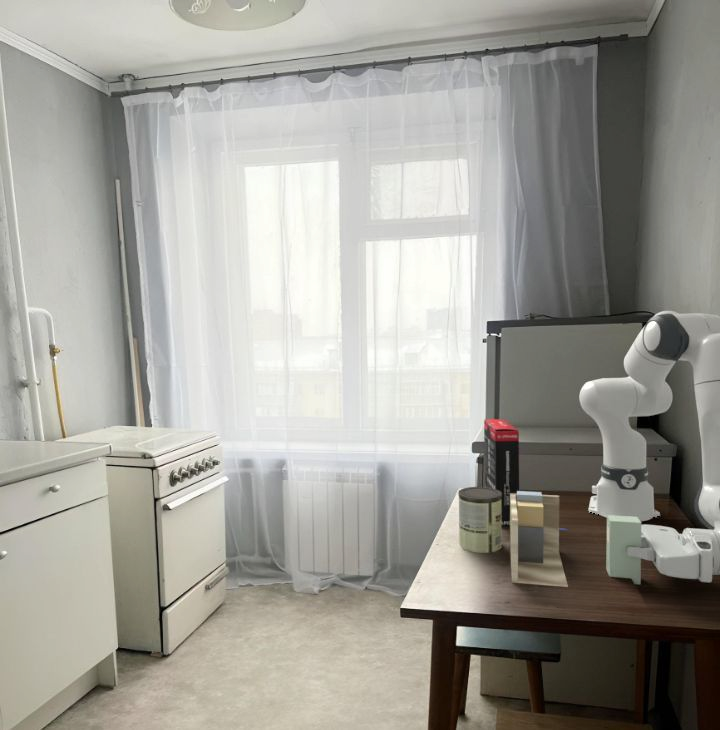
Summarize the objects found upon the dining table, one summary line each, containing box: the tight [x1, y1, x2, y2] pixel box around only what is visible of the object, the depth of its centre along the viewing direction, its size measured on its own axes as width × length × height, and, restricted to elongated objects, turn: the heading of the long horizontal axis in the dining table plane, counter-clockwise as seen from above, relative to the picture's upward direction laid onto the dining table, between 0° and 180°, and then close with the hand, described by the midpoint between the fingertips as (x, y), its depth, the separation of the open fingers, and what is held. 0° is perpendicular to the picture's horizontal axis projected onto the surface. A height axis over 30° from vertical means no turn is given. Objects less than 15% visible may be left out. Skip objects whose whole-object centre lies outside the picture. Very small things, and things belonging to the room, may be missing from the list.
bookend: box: [518, 526, 544, 563], centre depth 132 cm, size 4×6×8 cm
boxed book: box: [605, 515, 643, 585], centre depth 124 cm, size 4×6×13 cm, turn 77°
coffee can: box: [457, 486, 503, 554], centre depth 141 cm, size 10×10×14 cm
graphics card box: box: [483, 418, 520, 527], centre depth 162 cm, size 17×7×27 cm, turn 179°
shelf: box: [509, 493, 569, 588], centre depth 129 cm, size 20×11×14 cm, turn 167°
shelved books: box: [517, 490, 543, 527], centre depth 134 cm, size 7×6×14 cm
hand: (624, 545), depth 124 cm, fingers closed on boxed book, 4 cm apart
